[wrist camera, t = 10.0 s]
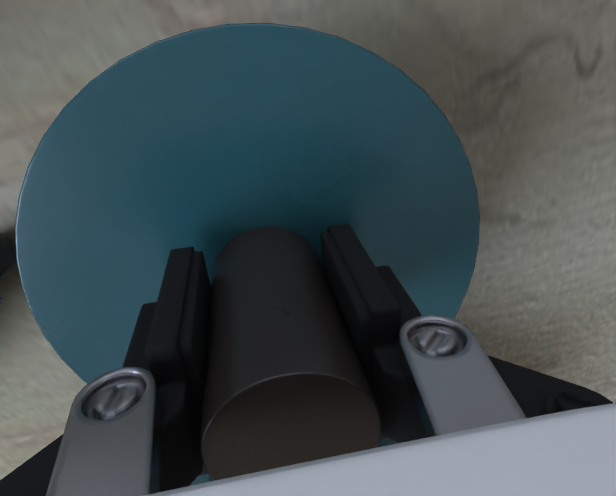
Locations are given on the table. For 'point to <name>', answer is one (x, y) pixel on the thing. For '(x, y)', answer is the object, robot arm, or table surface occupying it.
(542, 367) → the table surface
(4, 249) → the toy car
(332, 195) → the lid
